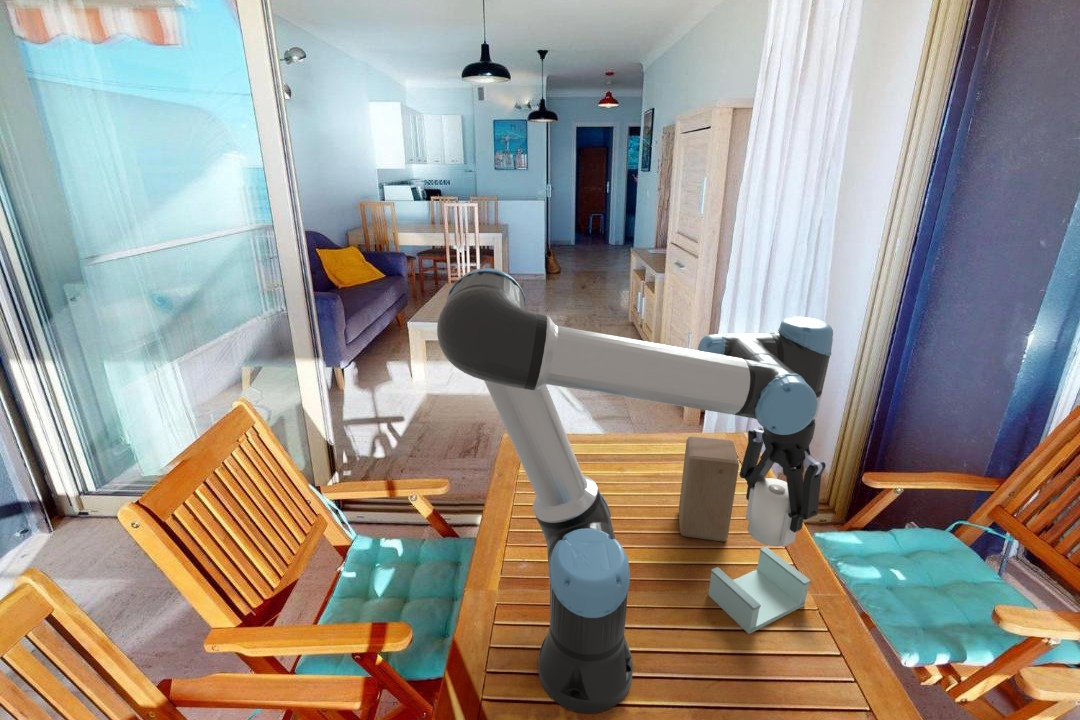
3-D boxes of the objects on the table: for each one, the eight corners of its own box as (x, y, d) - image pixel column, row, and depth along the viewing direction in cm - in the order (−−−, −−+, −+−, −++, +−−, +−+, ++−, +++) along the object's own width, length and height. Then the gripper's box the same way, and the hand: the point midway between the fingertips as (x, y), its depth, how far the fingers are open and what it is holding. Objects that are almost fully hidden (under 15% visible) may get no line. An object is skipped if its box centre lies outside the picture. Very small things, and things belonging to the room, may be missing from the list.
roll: (770, 551, 93) (779, 505, 90) (739, 527, 99) (746, 483, 96) (799, 538, 96) (808, 493, 93) (767, 516, 102) (774, 473, 99)
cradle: (749, 634, 96) (754, 608, 94) (707, 594, 105) (711, 569, 102) (804, 606, 102) (810, 580, 100) (761, 570, 111) (765, 546, 108)
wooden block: (727, 544, 118) (740, 463, 110) (679, 537, 120) (688, 457, 112) (722, 515, 127) (734, 438, 120) (678, 509, 129) (686, 434, 121)
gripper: (864, 435, 82) (833, 558, 91) (759, 386, 99) (742, 494, 107) (830, 447, 79) (802, 573, 88) (728, 394, 96) (712, 505, 104)
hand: (769, 529), depth 97 cm, fingers closed on roll, 7 cm apart
